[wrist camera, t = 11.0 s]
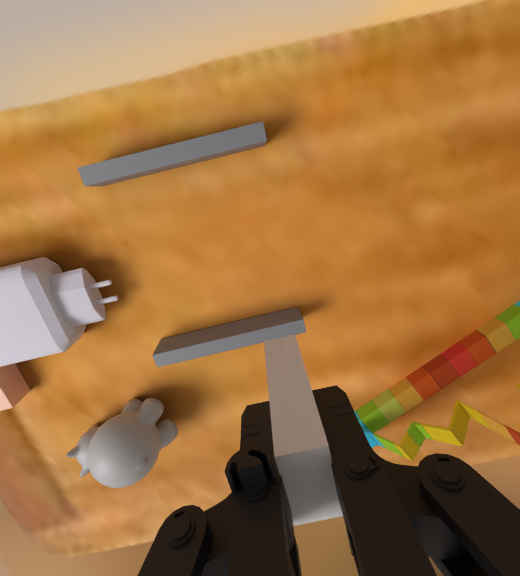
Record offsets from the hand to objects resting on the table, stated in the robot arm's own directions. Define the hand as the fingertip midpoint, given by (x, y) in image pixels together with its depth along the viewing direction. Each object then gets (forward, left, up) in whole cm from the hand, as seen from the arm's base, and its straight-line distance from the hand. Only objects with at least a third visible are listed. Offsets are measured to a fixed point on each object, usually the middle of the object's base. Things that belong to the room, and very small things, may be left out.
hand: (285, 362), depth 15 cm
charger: (+22, -2, -20) cm, 30 cm away
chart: (-17, +19, -20) cm, 32 cm away
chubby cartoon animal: (+21, +15, -19) cm, 32 cm away
